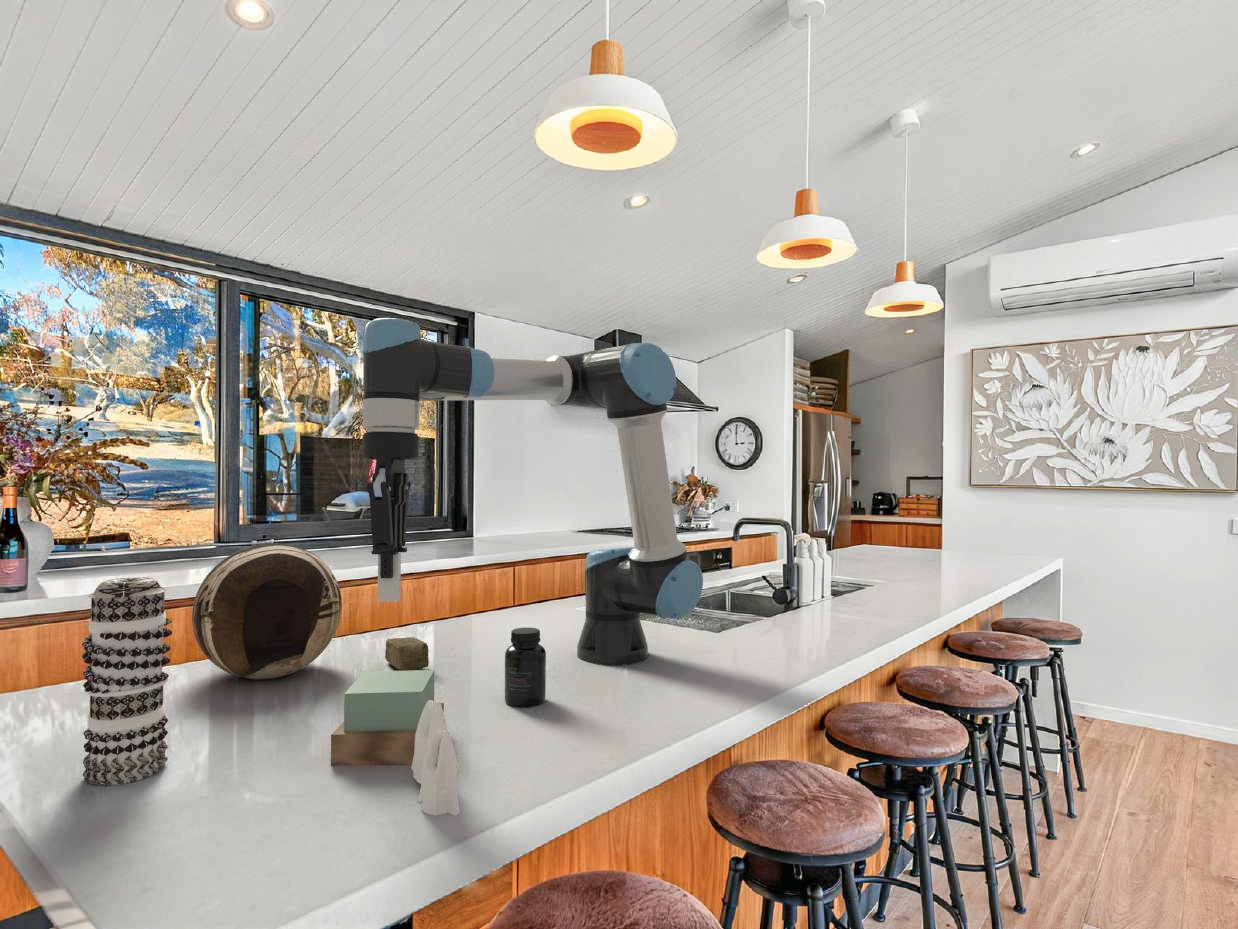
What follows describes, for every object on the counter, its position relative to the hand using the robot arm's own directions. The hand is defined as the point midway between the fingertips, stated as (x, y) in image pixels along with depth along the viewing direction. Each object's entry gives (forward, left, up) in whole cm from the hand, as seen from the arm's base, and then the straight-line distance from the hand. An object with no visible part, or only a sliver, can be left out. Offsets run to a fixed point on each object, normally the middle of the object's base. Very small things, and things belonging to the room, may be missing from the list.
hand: (389, 600), depth 96 cm
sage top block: (-1, 0, -16) cm, 16 cm away
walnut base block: (-1, 0, -21) cm, 21 cm away
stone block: (+6, -37, -22) cm, 43 cm away
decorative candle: (+30, +8, -21) cm, 37 cm away
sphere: (+32, -35, -21) cm, 52 cm away
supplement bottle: (-17, -20, -21) cm, 34 cm away
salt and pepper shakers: (-10, +15, -21) cm, 27 cm away
